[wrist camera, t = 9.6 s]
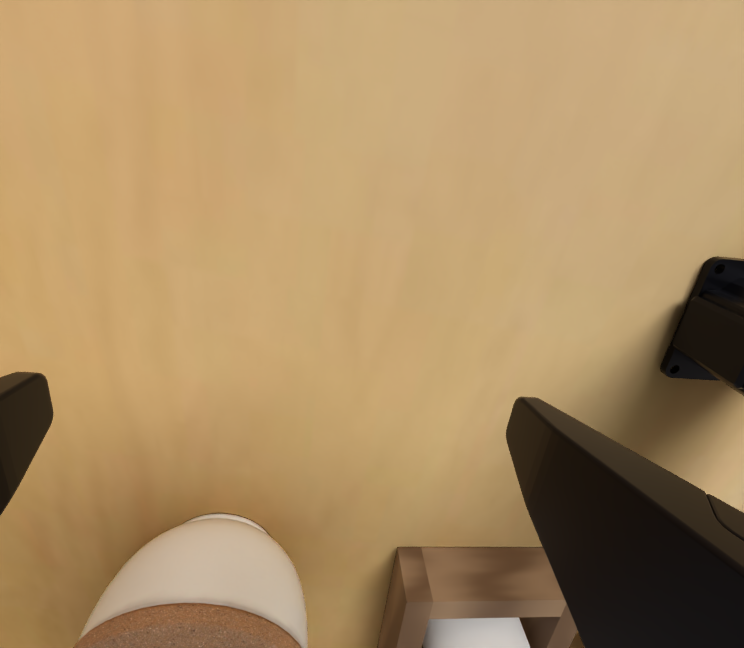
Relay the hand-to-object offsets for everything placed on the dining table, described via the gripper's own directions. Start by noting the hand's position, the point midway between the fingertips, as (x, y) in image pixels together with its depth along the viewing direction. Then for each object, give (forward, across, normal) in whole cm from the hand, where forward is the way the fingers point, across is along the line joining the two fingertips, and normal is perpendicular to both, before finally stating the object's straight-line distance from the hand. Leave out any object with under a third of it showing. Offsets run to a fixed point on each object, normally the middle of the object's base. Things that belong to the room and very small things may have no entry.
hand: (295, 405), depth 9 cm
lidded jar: (+12, +4, +19) cm, 23 cm away
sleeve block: (+12, -12, +24) cm, 29 cm away
